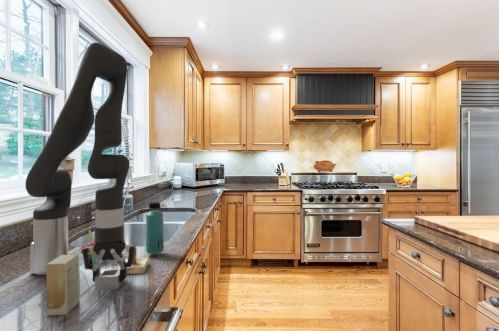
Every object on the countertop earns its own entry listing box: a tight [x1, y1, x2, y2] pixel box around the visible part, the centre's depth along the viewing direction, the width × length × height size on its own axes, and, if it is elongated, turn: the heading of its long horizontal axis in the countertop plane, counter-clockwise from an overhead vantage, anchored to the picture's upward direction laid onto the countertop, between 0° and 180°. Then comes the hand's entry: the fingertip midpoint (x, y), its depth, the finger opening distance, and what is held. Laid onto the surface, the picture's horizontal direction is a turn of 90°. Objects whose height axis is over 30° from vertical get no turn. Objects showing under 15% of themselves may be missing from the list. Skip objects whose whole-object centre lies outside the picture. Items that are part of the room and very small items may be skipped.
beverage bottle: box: [145, 201, 165, 255], centre depth 106 cm, size 6×7×20 cm
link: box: [94, 267, 123, 291], centre depth 81 cm, size 6×6×4 cm
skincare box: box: [46, 254, 80, 316], centre depth 68 cm, size 6×4×12 cm
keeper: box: [116, 247, 149, 275], centre depth 92 cm, size 8×8×7 cm
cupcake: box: [80, 228, 98, 264], centre depth 100 cm, size 9×8×12 cm
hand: (110, 281), depth 81 cm, fingers closed on link, 6 cm apart
